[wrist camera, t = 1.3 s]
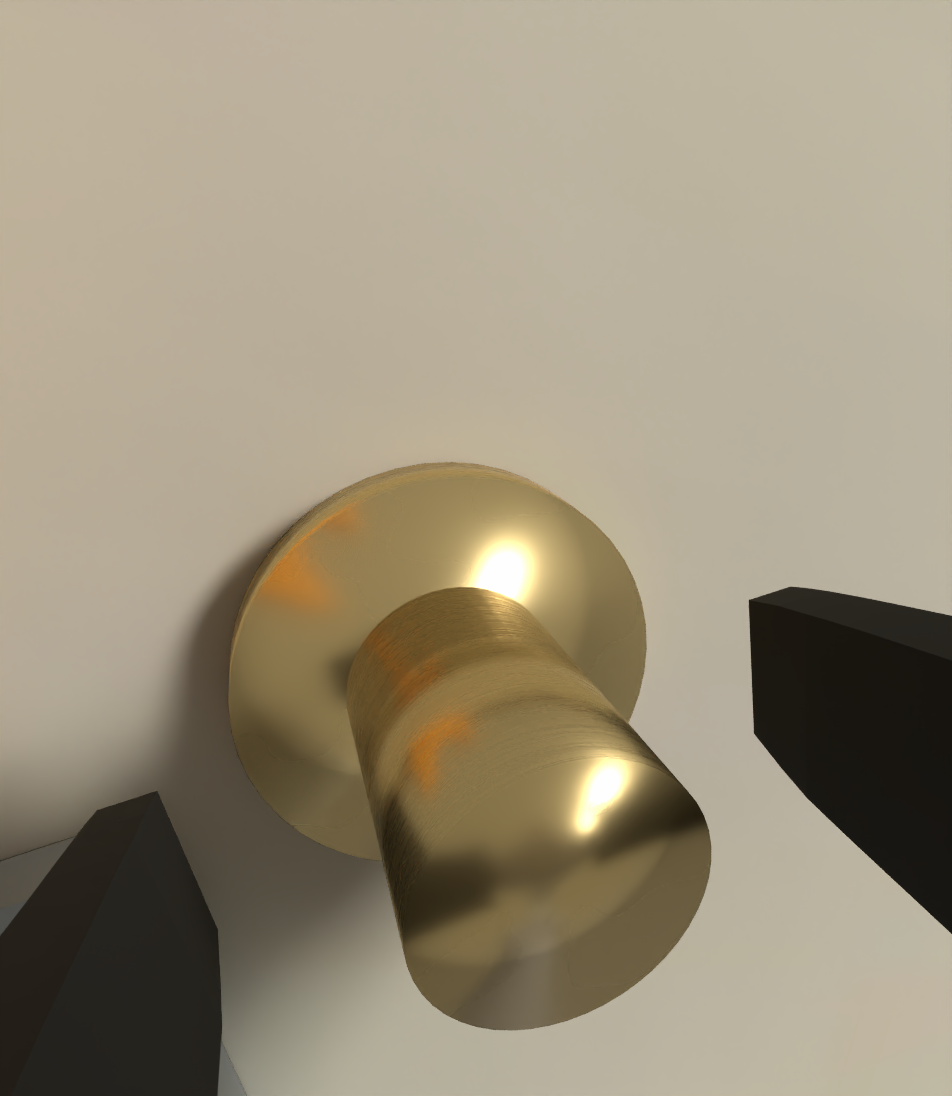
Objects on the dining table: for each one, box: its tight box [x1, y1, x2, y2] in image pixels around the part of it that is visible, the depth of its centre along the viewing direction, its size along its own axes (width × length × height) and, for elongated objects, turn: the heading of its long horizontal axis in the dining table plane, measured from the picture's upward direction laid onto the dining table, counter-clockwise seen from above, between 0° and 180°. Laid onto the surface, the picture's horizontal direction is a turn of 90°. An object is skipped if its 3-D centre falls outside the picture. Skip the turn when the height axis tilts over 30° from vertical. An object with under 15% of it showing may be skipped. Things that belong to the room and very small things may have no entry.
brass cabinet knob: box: [228, 462, 711, 1030], centre depth 9 cm, size 6×6×5 cm
